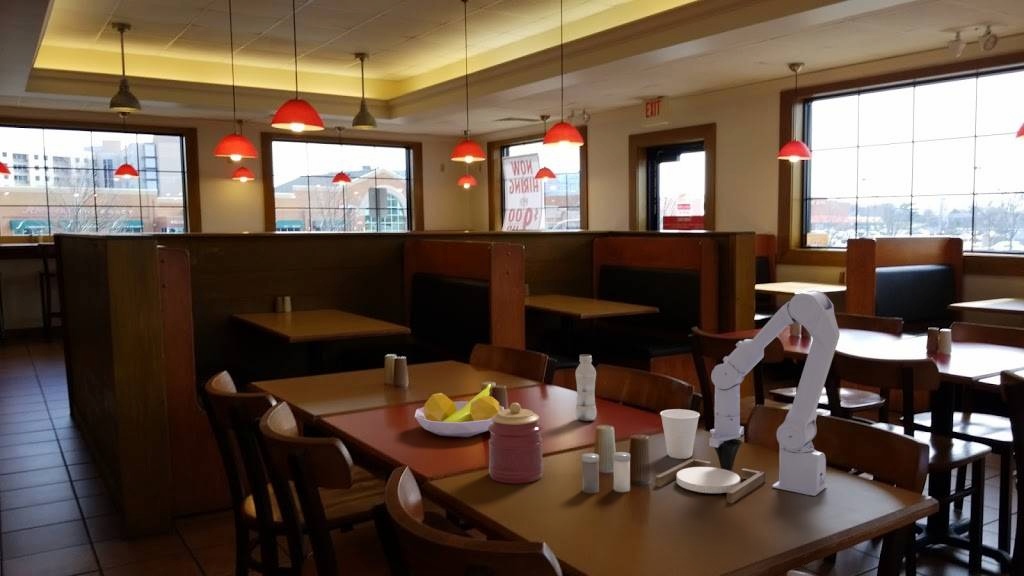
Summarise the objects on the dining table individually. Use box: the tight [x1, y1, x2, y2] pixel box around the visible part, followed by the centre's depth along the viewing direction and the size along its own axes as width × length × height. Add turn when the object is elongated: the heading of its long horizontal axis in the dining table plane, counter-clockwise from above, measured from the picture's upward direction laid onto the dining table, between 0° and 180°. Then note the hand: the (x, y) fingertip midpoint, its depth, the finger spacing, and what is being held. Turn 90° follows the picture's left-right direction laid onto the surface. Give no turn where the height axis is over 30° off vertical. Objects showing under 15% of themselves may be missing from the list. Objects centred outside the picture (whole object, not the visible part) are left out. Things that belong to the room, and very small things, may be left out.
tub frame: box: [654, 457, 766, 504], centre depth 178 cm, size 18×18×2 cm
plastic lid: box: [675, 466, 741, 494], centre depth 177 cm, size 14×14×2 cm
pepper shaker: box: [581, 452, 600, 495], centre depth 175 cm, size 4×4×8 cm
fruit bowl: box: [414, 383, 505, 438], centre depth 228 cm, size 28×27×11 cm
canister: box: [488, 402, 544, 485], centre depth 186 cm, size 13×13×18 cm
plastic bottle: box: [575, 354, 598, 422], centre depth 238 cm, size 6×7×20 cm
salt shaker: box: [612, 451, 631, 493], centre depth 175 cm, size 4×4×8 cm
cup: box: [659, 408, 701, 460], centre depth 200 cm, size 10×10×11 cm
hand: (726, 470), depth 185 cm, fingers closed
